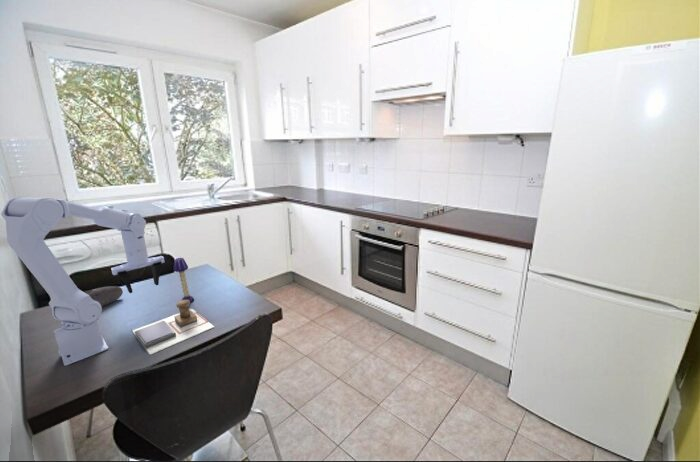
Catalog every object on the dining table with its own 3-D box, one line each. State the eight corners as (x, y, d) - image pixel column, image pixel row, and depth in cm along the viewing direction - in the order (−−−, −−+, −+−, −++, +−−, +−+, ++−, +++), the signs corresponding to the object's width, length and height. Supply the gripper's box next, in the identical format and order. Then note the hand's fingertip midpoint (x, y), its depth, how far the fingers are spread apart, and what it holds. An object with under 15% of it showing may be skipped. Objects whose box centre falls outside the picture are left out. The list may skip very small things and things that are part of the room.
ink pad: (145, 348, 89) (144, 344, 88) (135, 335, 95) (134, 330, 95) (176, 336, 94) (175, 332, 94) (164, 324, 101) (163, 320, 101)
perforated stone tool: (121, 296, 121) (117, 279, 119) (127, 299, 118) (123, 282, 116) (72, 313, 109) (66, 295, 107) (77, 317, 106) (72, 299, 104)
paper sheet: (150, 355, 87) (149, 353, 86) (132, 331, 98) (132, 330, 98) (214, 327, 99) (214, 326, 99) (192, 309, 110) (192, 308, 110)
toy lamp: (187, 305, 113) (180, 261, 109) (176, 303, 114) (168, 260, 110) (196, 298, 118) (189, 256, 113) (185, 297, 119) (178, 256, 114)
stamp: (180, 327, 99) (177, 308, 97) (175, 321, 102) (171, 302, 100) (197, 321, 102) (194, 302, 100) (191, 315, 106) (188, 297, 104)
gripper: (111, 258, 94) (121, 299, 98) (164, 246, 104) (171, 284, 108) (106, 253, 99) (115, 292, 103) (157, 242, 109) (164, 278, 113)
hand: (143, 288), depth 106 cm, fingers open, 7 cm apart
